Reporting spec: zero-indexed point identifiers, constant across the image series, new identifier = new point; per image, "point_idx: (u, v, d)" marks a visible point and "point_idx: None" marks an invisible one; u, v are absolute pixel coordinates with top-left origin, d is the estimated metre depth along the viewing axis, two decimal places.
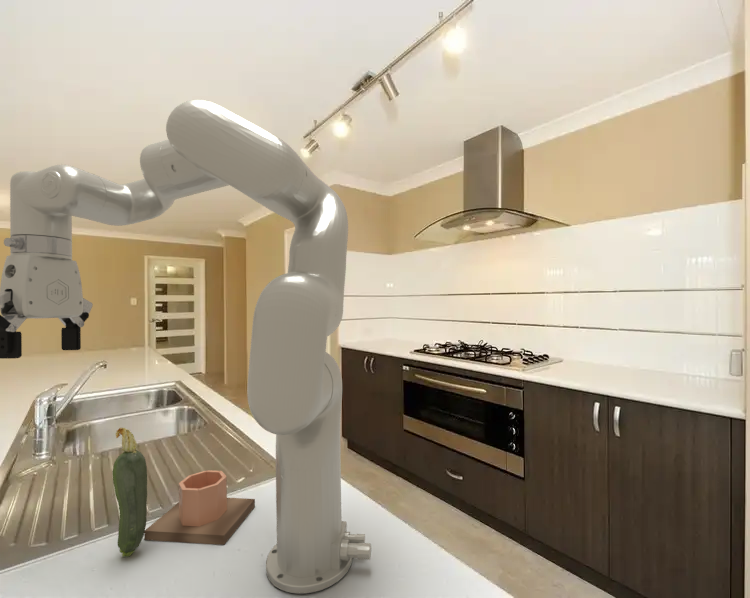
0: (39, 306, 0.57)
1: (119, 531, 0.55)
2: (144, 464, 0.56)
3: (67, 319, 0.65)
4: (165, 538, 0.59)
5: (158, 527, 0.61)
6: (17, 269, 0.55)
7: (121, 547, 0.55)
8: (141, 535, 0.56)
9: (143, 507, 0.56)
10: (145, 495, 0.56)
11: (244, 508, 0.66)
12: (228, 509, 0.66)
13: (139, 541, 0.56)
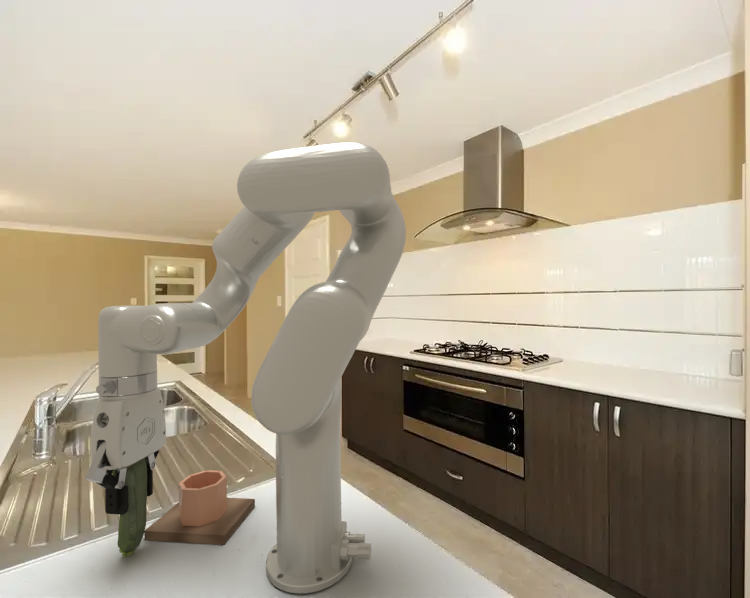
0: (131, 453, 0.53)
1: (119, 531, 0.55)
2: (144, 464, 0.56)
3: None
4: (165, 538, 0.59)
5: (158, 527, 0.61)
6: (110, 418, 0.51)
7: (121, 547, 0.55)
8: (141, 535, 0.56)
9: (143, 507, 0.56)
10: (145, 495, 0.56)
11: (244, 508, 0.66)
12: (228, 509, 0.66)
13: (139, 541, 0.56)
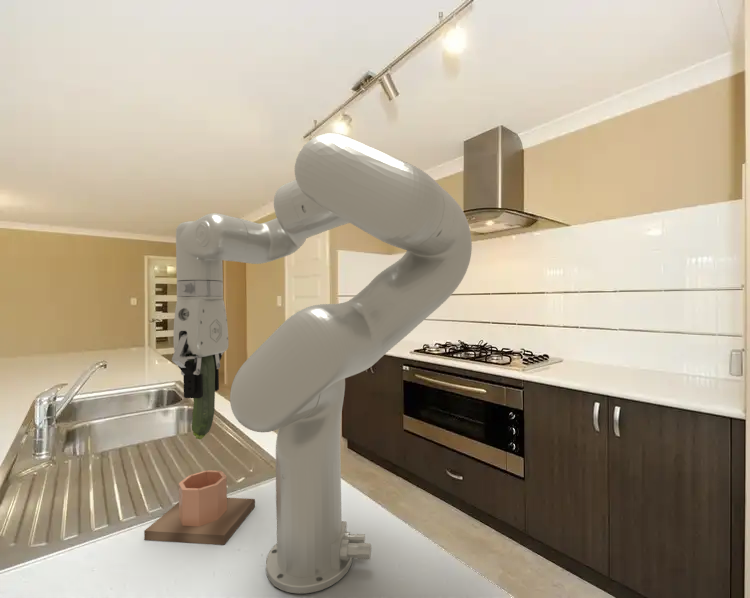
0: (206, 345, 0.62)
1: (193, 416, 0.64)
2: (213, 360, 0.65)
3: None
4: (165, 538, 0.59)
5: (158, 527, 0.61)
6: (190, 313, 0.60)
7: (195, 429, 0.64)
8: (211, 421, 0.65)
9: (213, 397, 0.65)
10: (214, 387, 0.65)
11: (244, 508, 0.66)
12: (228, 509, 0.66)
13: (210, 427, 0.65)
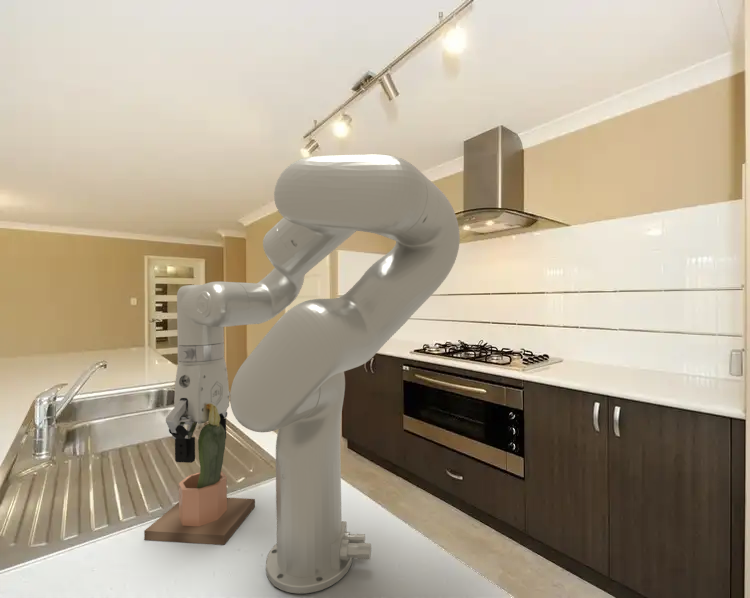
0: (207, 411, 0.62)
1: (198, 488, 0.63)
2: (225, 436, 0.63)
3: None
4: (165, 538, 0.59)
5: (158, 527, 0.61)
6: (191, 380, 0.60)
7: None
8: None
9: (220, 471, 0.64)
10: (222, 462, 0.64)
11: (244, 508, 0.66)
12: (228, 509, 0.66)
13: None
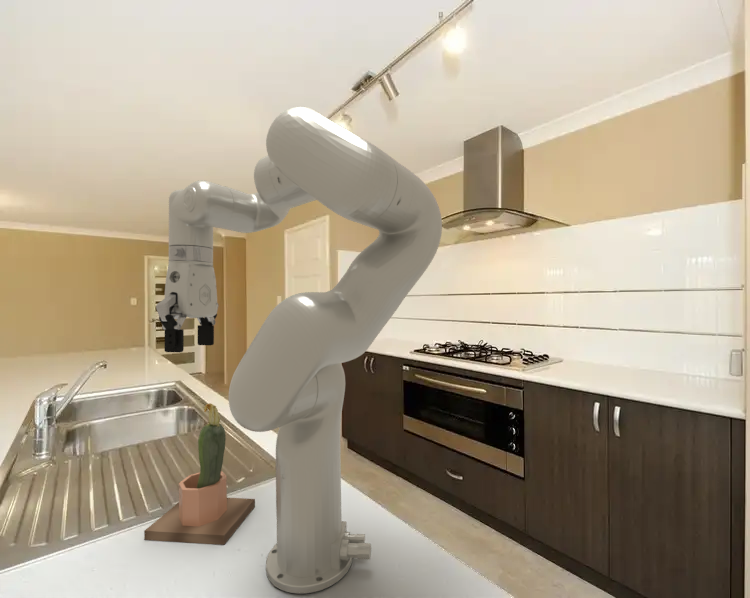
0: (195, 307, 0.65)
1: (198, 488, 0.63)
2: (225, 436, 0.63)
3: (202, 318, 0.74)
4: (165, 538, 0.59)
5: (158, 527, 0.61)
6: (181, 275, 0.64)
7: None
8: None
9: (220, 471, 0.64)
10: (222, 462, 0.64)
11: (244, 508, 0.66)
12: (228, 509, 0.66)
13: None
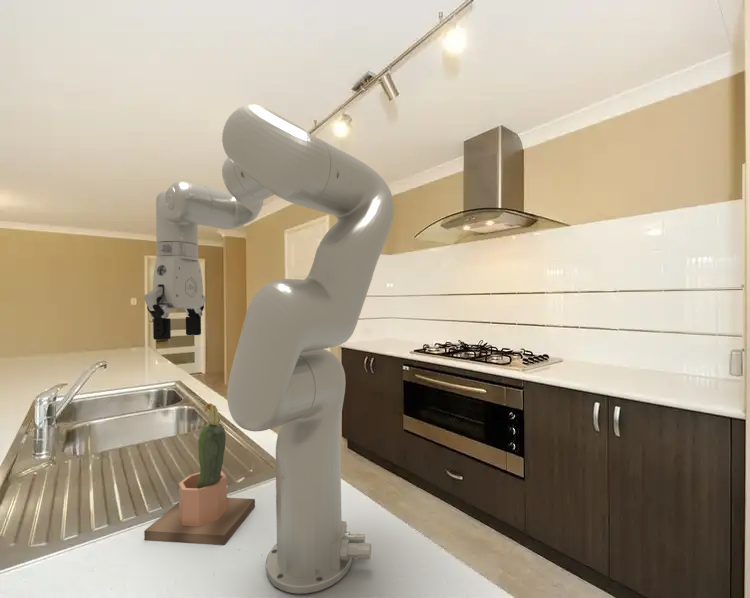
0: (181, 298, 0.71)
1: (198, 488, 0.63)
2: (225, 436, 0.63)
3: (189, 310, 0.79)
4: (165, 538, 0.59)
5: (158, 527, 0.61)
6: (167, 269, 0.69)
7: None
8: None
9: (220, 471, 0.64)
10: (222, 462, 0.64)
11: (244, 508, 0.66)
12: (228, 509, 0.66)
13: None
